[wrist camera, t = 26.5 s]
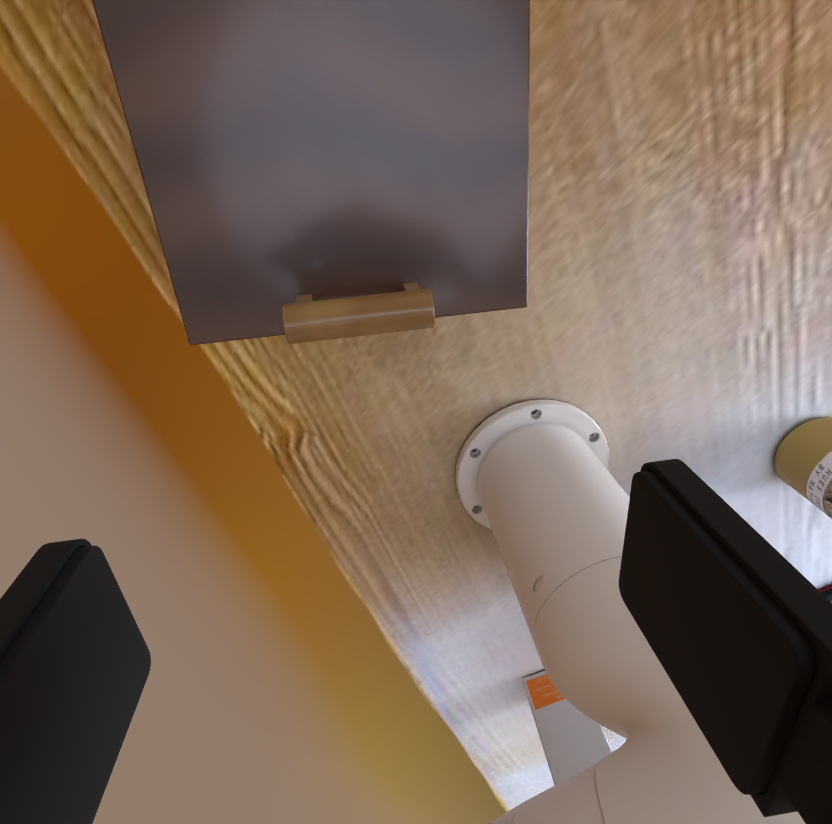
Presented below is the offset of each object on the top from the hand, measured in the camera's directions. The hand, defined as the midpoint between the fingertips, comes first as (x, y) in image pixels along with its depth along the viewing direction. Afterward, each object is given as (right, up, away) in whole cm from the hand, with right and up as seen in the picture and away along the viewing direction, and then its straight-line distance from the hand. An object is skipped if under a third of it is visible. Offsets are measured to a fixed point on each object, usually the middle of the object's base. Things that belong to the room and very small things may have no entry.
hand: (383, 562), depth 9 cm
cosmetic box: (+15, -26, +47) cm, 56 cm away
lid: (-3, +14, +14) cm, 20 cm away
